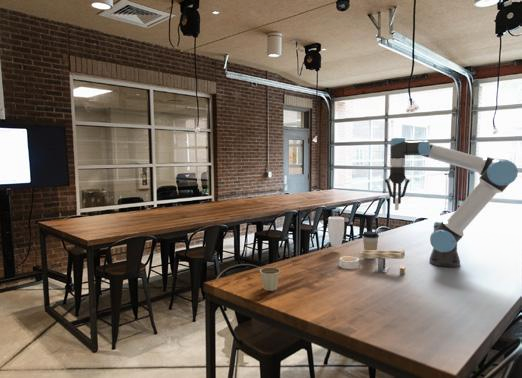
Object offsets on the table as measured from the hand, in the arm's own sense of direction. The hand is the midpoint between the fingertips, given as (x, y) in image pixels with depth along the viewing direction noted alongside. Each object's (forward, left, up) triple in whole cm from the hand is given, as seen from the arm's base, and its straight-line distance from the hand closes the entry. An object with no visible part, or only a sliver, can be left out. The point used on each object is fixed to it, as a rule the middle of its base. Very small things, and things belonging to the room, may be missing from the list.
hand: (396, 209), depth 199 cm
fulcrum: (+1, +15, -30) cm, 34 cm away
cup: (+37, -11, -31) cm, 49 cm away
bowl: (+22, +15, -30) cm, 40 cm away
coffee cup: (+15, -6, -31) cm, 35 cm away
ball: (+23, +15, -28) cm, 39 cm away
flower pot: (+46, +64, -31) cm, 85 cm away
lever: (+5, +11, -23) cm, 26 cm away
